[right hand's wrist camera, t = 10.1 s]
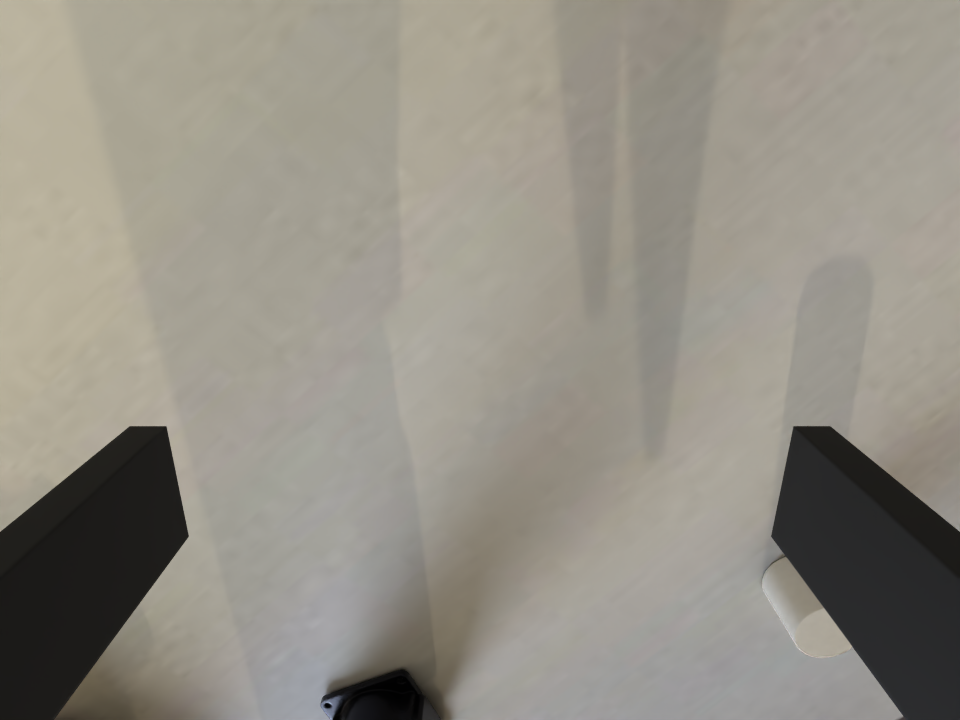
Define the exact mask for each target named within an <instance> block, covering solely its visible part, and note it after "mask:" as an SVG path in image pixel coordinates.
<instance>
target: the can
mask: <svg viewBox="0 0 960 720" xmlns="http://www.w3.org/2000/svg"><path fill="white" fill-rule="evenodd" d="M762 588H763V591H764V593H765V594H766V596H767V598H768V599H769V601H770V603H771V604H772V606H773V608H774V609H775V611H776V613H777V614H778V616H779V618H780V619H781V621H782V623H783V624H784V626H785V628H786V629H787V631H788V633H789V634H790V636H791V638H792V639H793V641H794V643H795V644H796V646H797V647H798V649H799V650H800V651H802V652H803V653H805V654H806V655H809V656H812V657H817V658H828V657H834V656H837V655H840V654H842V653H844V652H846V651H848V650H849V649H851V648H852V645H851V644H850V643H849V641H848V640H847V639H846V637H845V636H844V635H843V633H842V632H841V630H840V629H839V628H838V626H837V625H836V624H835V622H834V621H833V620H832V618H831V617H830V616H829V614H828V613H827V611H826V610H825V609H824V607H823V606H822V605H821V603H820V602H819V601H818V599H817V598H816V597H815V595H814V594H813V592H812V591H811V590H810V588H809V587H808V586H807V584H806V583H805V582H804V580H803V579H802V578H801V576H800V575H799V573H798V572H797V571H796V569H795V568H794V567H793V565H792V564H791V563H790V561H789V560H788V559H787V557H784V558H781V559H779V560H777V561H776V562H774V563H773V564H772V565H771V566H770V567H769V568H768V569H767V570H766V572H765V573H764V576H763V579H762Z"/></svg>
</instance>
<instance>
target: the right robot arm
mask: <svg viewBox="0 0 960 720" xmlns="http://www.w3.org/2000/svg"><path fill="white" fill-rule="evenodd" d="M188 537H189V535H188V530H187V526H186V521H185V516H184V511H183V506H182V501H181V496H180V491H179V486H178V481H177V476H176V471H175V466H174V462H173V457H172V452H171V447H170V442H169V437H168V432H167V427H166V426H130V427H128V428H127V429H126V430H125V431H124V432H122V433H121V434H120V435H119V436H117V437H116V438H115V439H114V440H112V441H111V442H110V443H109V444H108V445H106V446H105V447H104V448H103V449H101V450H100V451H99V452H98V453H97V454H95V455H94V456H93V457H92V458H90V459H89V460H88V461H87V462H85V463H84V464H83V465H82V466H81V467H79V468H78V469H77V470H76V471H74V472H73V473H72V474H71V475H70V476H68V477H67V478H66V479H65V480H63V481H62V482H61V483H60V484H59V485H57V486H56V487H55V488H54V489H52V490H51V491H50V492H49V493H47V494H46V495H45V496H44V497H43V498H41V499H40V500H39V501H38V502H36V503H35V504H34V505H33V506H32V507H30V508H29V509H28V510H27V511H25V512H24V513H23V514H22V515H20V516H19V517H18V518H17V519H16V520H14V521H13V522H12V523H11V524H9V525H8V526H7V527H6V528H5V529H3V530H2V531H1V532H0V720H54V719H55V717H56V716H57V715H58V713H59V712H60V711H61V709H62V708H63V707H64V705H65V704H66V702H67V701H68V700H69V698H70V697H71V696H72V694H73V693H74V692H75V690H76V689H77V688H78V686H79V685H80V683H81V682H82V681H83V679H84V678H85V677H86V675H87V674H88V673H89V671H90V670H91V669H92V667H93V666H94V664H95V663H96V662H97V660H98V659H99V658H100V656H101V655H102V654H103V652H104V651H105V650H106V648H107V647H108V645H109V644H110V643H111V641H112V640H113V639H114V637H115V636H116V635H117V633H118V632H119V630H120V629H121V628H122V626H123V625H124V624H125V622H126V621H127V620H128V618H129V617H130V616H131V614H132V613H133V611H134V610H135V609H136V607H137V606H138V605H139V603H140V602H141V601H142V599H143V598H144V597H145V595H146V594H147V592H148V591H149V590H150V588H151V587H152V586H153V584H154V583H155V582H156V580H157V579H158V578H159V576H160V575H161V573H162V572H163V571H164V569H165V568H166V567H167V565H168V564H169V563H170V561H171V560H172V559H173V557H174V556H175V554H176V553H177V552H178V550H179V549H180V548H181V546H182V545H183V544H184V542H185V541H186V539H187V538H188ZM771 537H772V538H773V539H774V541H775V542H776V544H777V545H778V546H779V548H780V549H781V550H782V552H783V553H784V554H785V556H786V557H787V559H788V560H789V561H790V563H791V564H792V565H793V567H794V568H795V569H796V571H797V572H798V573H799V575H800V576H801V578H802V579H803V580H804V582H805V583H806V584H807V586H808V587H809V588H810V590H811V591H812V592H813V594H814V595H815V597H816V598H817V599H818V601H819V602H820V603H821V605H822V606H823V607H824V609H825V610H826V611H827V613H828V614H829V616H830V617H831V618H832V620H833V621H834V622H835V624H836V625H837V626H838V628H839V629H840V630H841V632H842V633H843V635H844V636H845V637H846V639H847V640H848V641H849V643H850V644H851V645H852V647H853V648H854V650H855V651H856V652H857V654H858V655H859V656H860V658H861V659H862V660H863V662H864V663H865V664H866V666H867V667H868V669H869V670H870V671H871V673H872V674H873V675H874V677H875V678H876V679H877V681H878V682H879V683H880V685H881V686H882V688H883V689H884V690H885V692H886V693H887V694H888V696H889V697H890V698H891V700H892V701H893V702H894V704H895V705H896V707H897V708H898V709H899V711H900V712H901V713H902V715H903V716H904V717H905V719H906V720H960V532H959V531H958V530H957V529H955V528H954V527H953V526H952V525H951V524H949V523H948V522H947V521H946V520H944V519H943V518H942V517H941V516H940V515H938V514H937V513H936V512H935V511H933V510H932V509H931V508H930V507H928V506H927V505H926V504H925V503H924V502H922V501H921V500H920V499H919V498H917V497H916V496H915V495H914V494H913V493H911V492H910V491H909V490H908V489H906V488H905V487H904V486H903V485H901V484H900V483H899V482H898V481H897V480H895V479H894V478H893V477H892V476H890V475H889V474H888V473H887V472H886V471H884V470H883V469H882V468H881V467H879V466H878V465H877V464H876V463H875V462H873V461H872V460H871V459H870V458H868V457H867V456H866V455H865V454H863V453H862V452H861V451H860V450H859V449H857V448H856V447H855V446H854V445H852V444H851V443H850V442H849V441H848V440H846V439H845V438H844V437H843V436H841V435H840V434H839V433H838V432H836V431H835V430H834V429H833V428H832V427H830V426H794V427H793V432H792V437H791V442H790V447H789V452H788V457H787V462H786V466H785V471H784V476H783V481H782V486H781V491H780V496H779V501H778V506H777V511H776V516H775V521H774V526H773V530H772V535H771Z"/></svg>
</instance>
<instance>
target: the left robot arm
mask: <svg viewBox="0 0 960 720" xmlns="http://www.w3.org/2000/svg"><path fill="white" fill-rule="evenodd" d="M321 708H322V709H323V710H324V712H325V713H326V714H327V716H328V717H329V718H330V720H441V719H440V717H439V716H438V714H437V713H436V711H435V710H434V708H433V707H432V705H431V704H430V702H429V701H428V699H427V698H426V696H425V695H423V694H422V692H421V691H420V689H419V688H418V687H417V685H416V684H415V682H414V681H413V679H412V678H411V676H410V675H409V673H408V672H407V671H405V670H398V671H395V672H392V673H389V674H387V675H384V676H381V677H378V678H375V679H372V680H369V681H366V682H363V683H360V684H357V685H354V686H351V687H348V688H345V689H342V690H340V691H337V692H334V693H331V694H328V695H325V696H323V698H322V701H321Z"/></svg>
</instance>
